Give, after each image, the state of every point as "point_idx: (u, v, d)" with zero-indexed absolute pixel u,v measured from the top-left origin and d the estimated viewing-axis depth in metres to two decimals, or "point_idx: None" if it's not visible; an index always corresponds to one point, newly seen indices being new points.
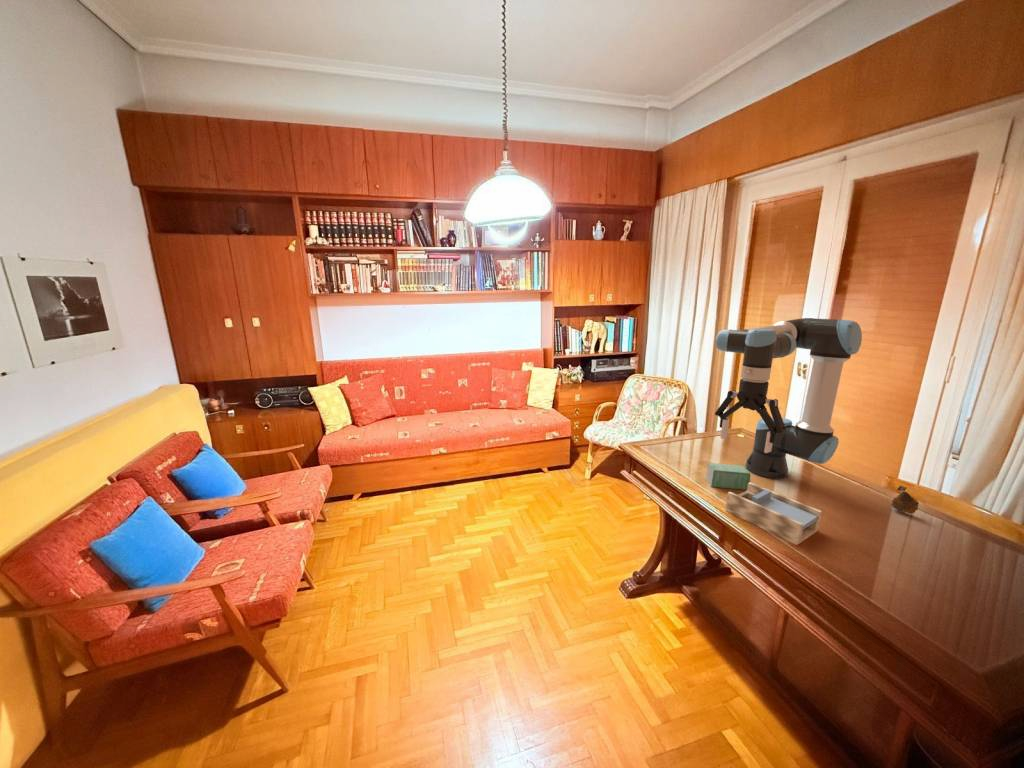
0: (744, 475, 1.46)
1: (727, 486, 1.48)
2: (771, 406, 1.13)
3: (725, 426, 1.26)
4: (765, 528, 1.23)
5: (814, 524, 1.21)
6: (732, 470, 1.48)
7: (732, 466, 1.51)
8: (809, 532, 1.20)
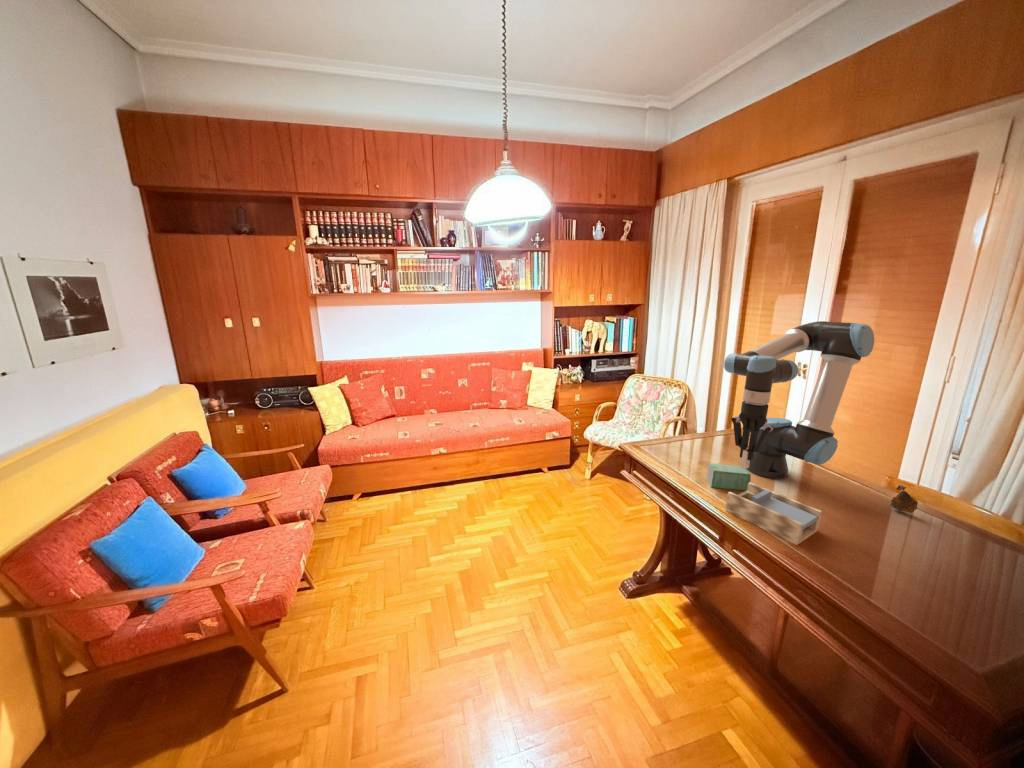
0: (744, 476, 1.45)
1: (727, 487, 1.48)
2: (765, 431, 1.24)
3: None
4: (765, 528, 1.23)
5: (814, 524, 1.21)
6: (732, 471, 1.47)
7: (732, 467, 1.50)
8: (809, 532, 1.20)
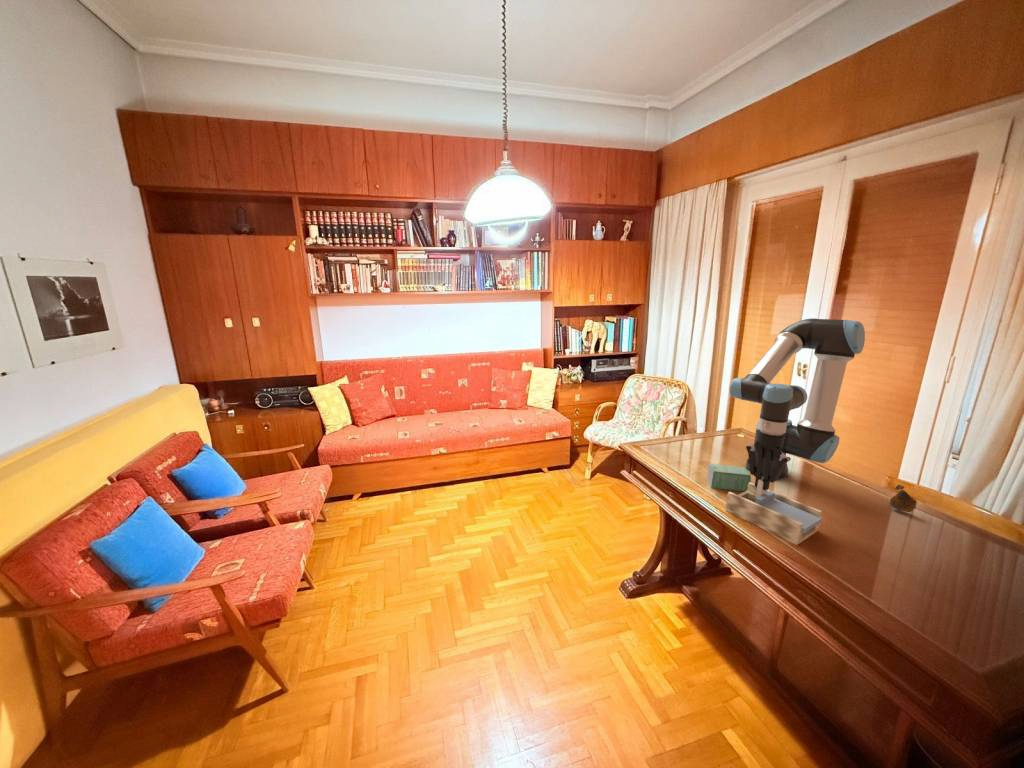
0: (744, 477, 1.45)
1: (727, 488, 1.47)
2: (781, 462, 1.21)
3: None
4: (765, 528, 1.23)
5: None
6: (732, 471, 1.46)
7: (733, 467, 1.50)
8: (809, 532, 1.20)
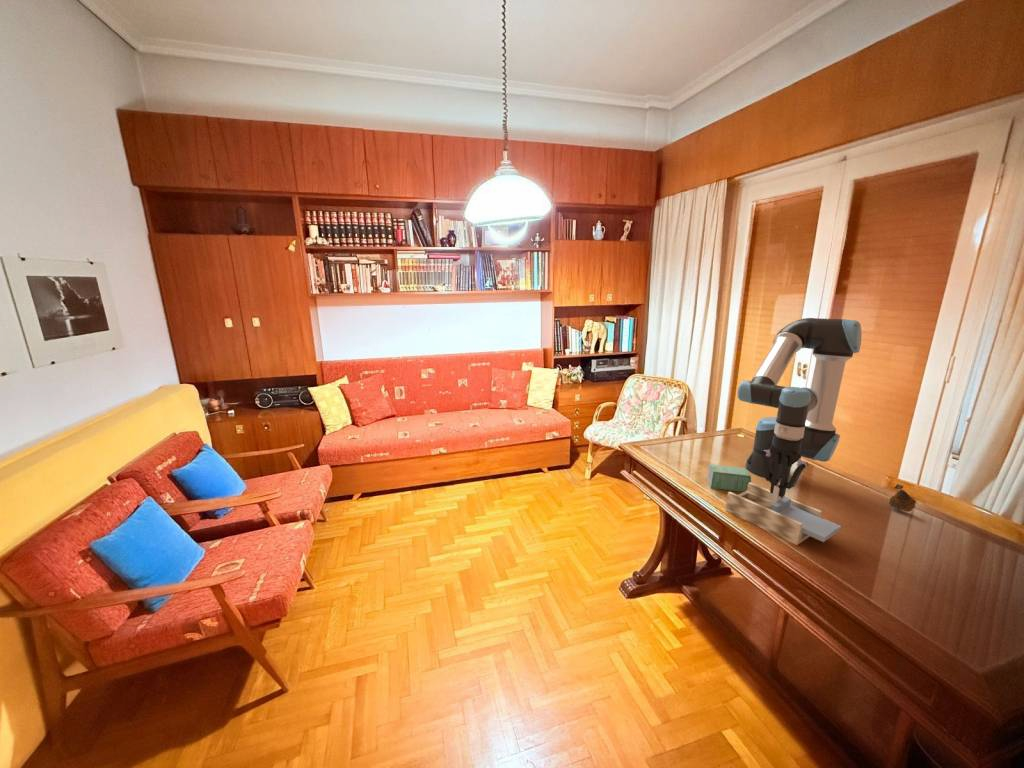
0: (744, 477, 1.44)
1: (727, 488, 1.47)
2: (799, 468, 1.17)
3: None
4: (765, 528, 1.23)
5: None
6: (732, 472, 1.46)
7: (733, 468, 1.49)
8: None
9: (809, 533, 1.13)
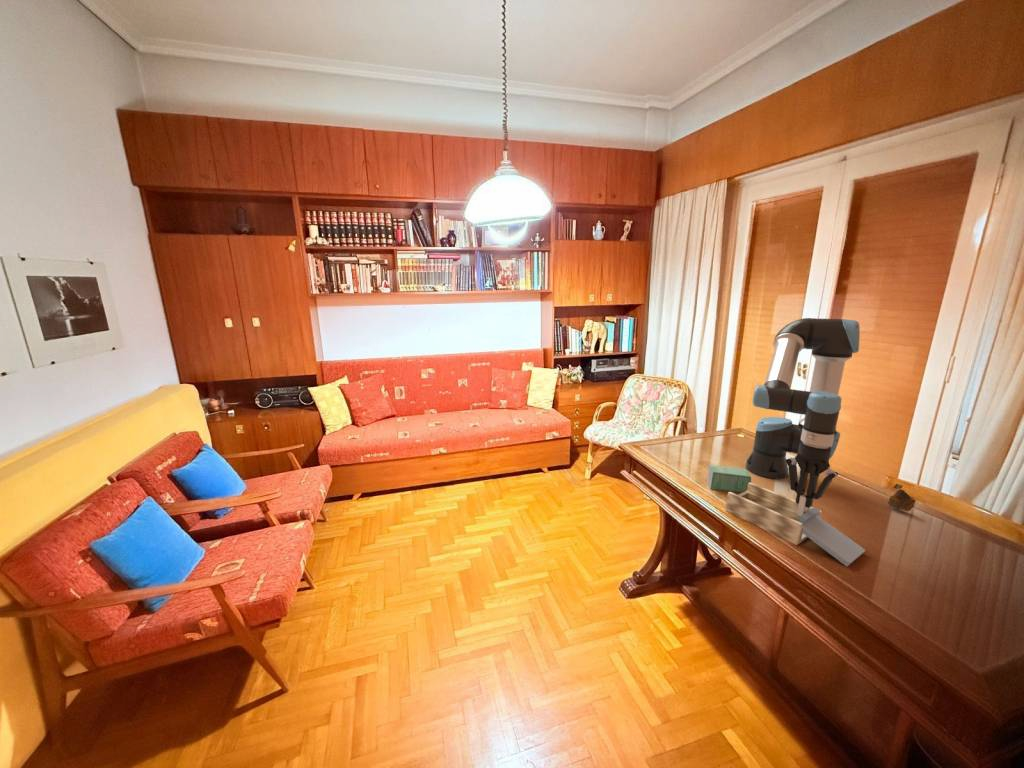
0: (744, 478, 1.44)
1: (727, 489, 1.46)
2: (828, 478, 1.11)
3: None
4: (765, 528, 1.23)
5: None
6: (732, 473, 1.46)
7: (733, 469, 1.49)
8: None
9: (834, 554, 1.08)
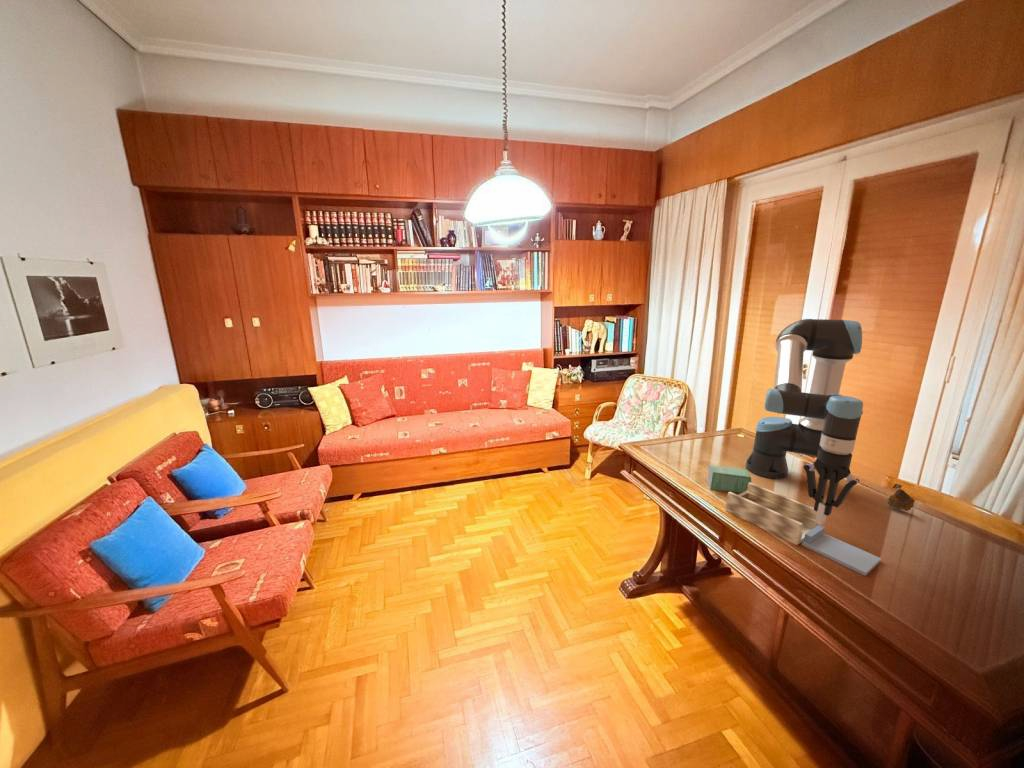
0: (744, 478, 1.43)
1: (727, 489, 1.46)
2: (849, 485, 1.07)
3: None
4: (765, 528, 1.23)
5: (814, 524, 1.21)
6: (732, 473, 1.45)
7: (733, 469, 1.48)
8: None
9: (848, 567, 1.06)
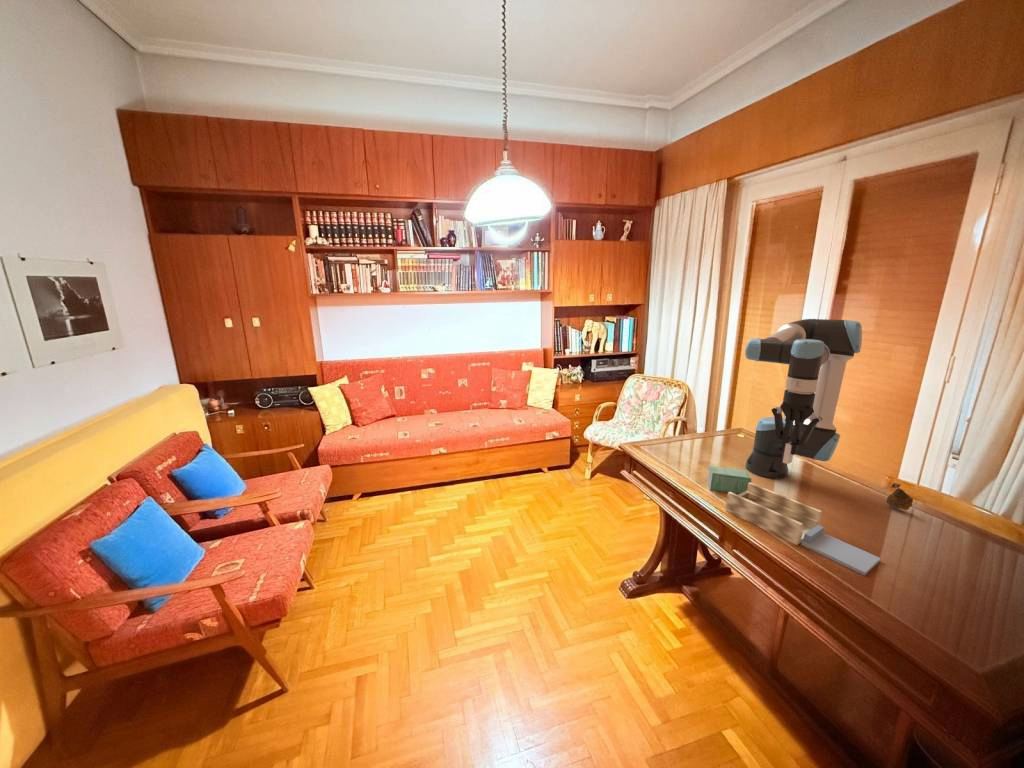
0: (744, 479, 1.42)
1: (727, 490, 1.45)
2: (812, 423, 1.13)
3: None
4: (765, 528, 1.23)
5: (814, 524, 1.21)
6: (732, 474, 1.45)
7: (734, 470, 1.48)
8: None
9: (847, 566, 1.06)
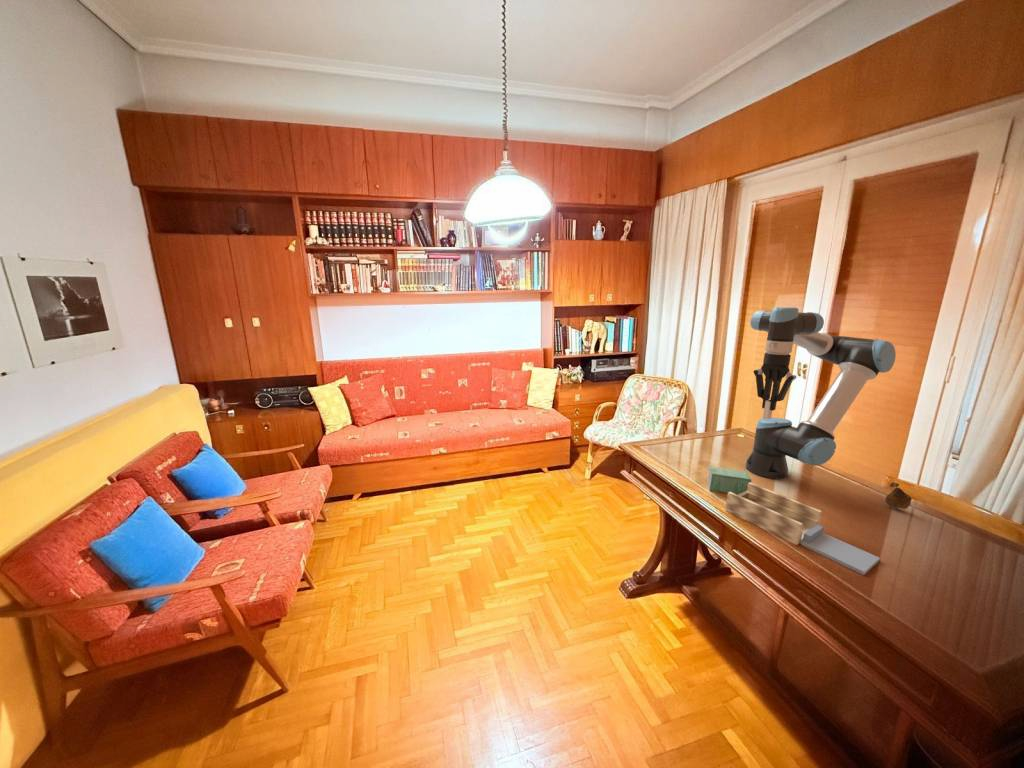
0: (744, 481, 1.42)
1: (726, 491, 1.45)
2: (787, 380, 1.29)
3: None
4: (765, 528, 1.23)
5: (814, 524, 1.21)
6: (732, 475, 1.44)
7: (734, 471, 1.47)
8: None
9: (847, 566, 1.06)
